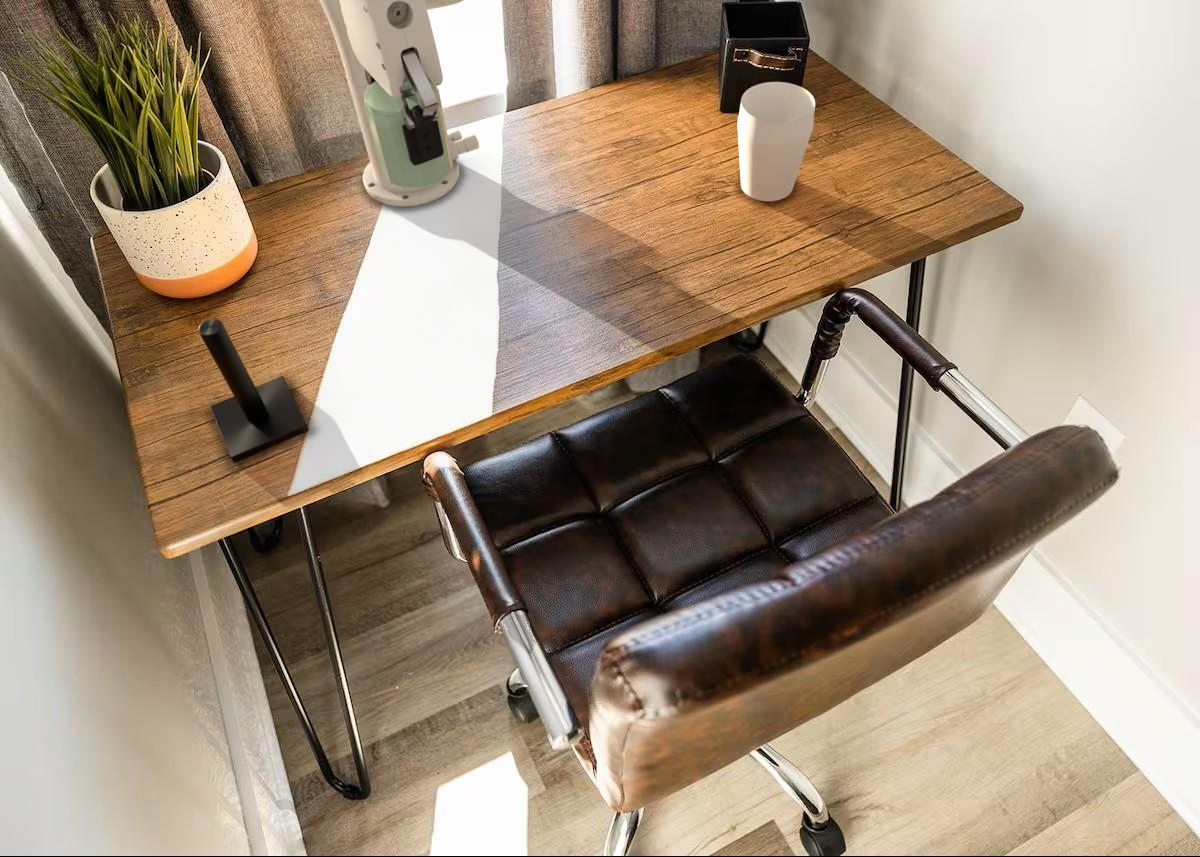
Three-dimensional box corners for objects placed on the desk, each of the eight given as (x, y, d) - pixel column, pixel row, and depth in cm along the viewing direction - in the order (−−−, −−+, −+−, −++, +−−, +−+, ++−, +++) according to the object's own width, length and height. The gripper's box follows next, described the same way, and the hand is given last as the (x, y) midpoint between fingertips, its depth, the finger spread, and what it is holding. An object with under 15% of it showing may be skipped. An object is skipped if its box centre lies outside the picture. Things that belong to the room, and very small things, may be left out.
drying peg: (285, 381, 97) (239, 285, 86) (309, 430, 93) (265, 336, 82) (212, 411, 95) (156, 317, 84) (234, 463, 90) (177, 371, 79)
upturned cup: (434, 139, 90) (418, 64, 84) (463, 171, 86) (449, 95, 80) (373, 162, 88) (352, 87, 82) (400, 196, 84) (381, 120, 78)
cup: (720, 196, 114) (727, 112, 104) (747, 158, 119) (756, 74, 109) (787, 216, 111) (801, 131, 102) (812, 175, 116) (827, 91, 106)
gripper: (455, -31, 67) (488, 171, 81) (366, -104, 77) (409, 88, 91) (363, -2, 65) (413, 201, 79) (283, -82, 74) (340, 112, 88)
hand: (410, 139), depth 85 cm, fingers closed on upturned cup, 6 cm apart
